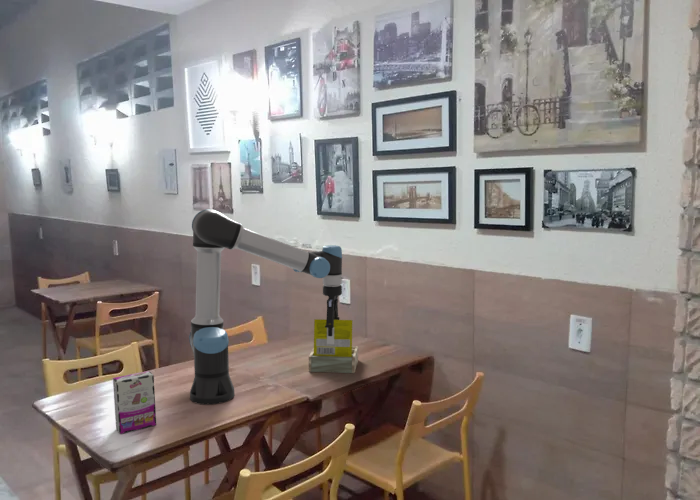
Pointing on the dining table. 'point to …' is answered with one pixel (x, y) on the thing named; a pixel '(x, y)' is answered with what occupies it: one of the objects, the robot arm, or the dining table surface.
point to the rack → (334, 363)
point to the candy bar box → (134, 402)
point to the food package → (341, 339)
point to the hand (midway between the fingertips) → (332, 339)
